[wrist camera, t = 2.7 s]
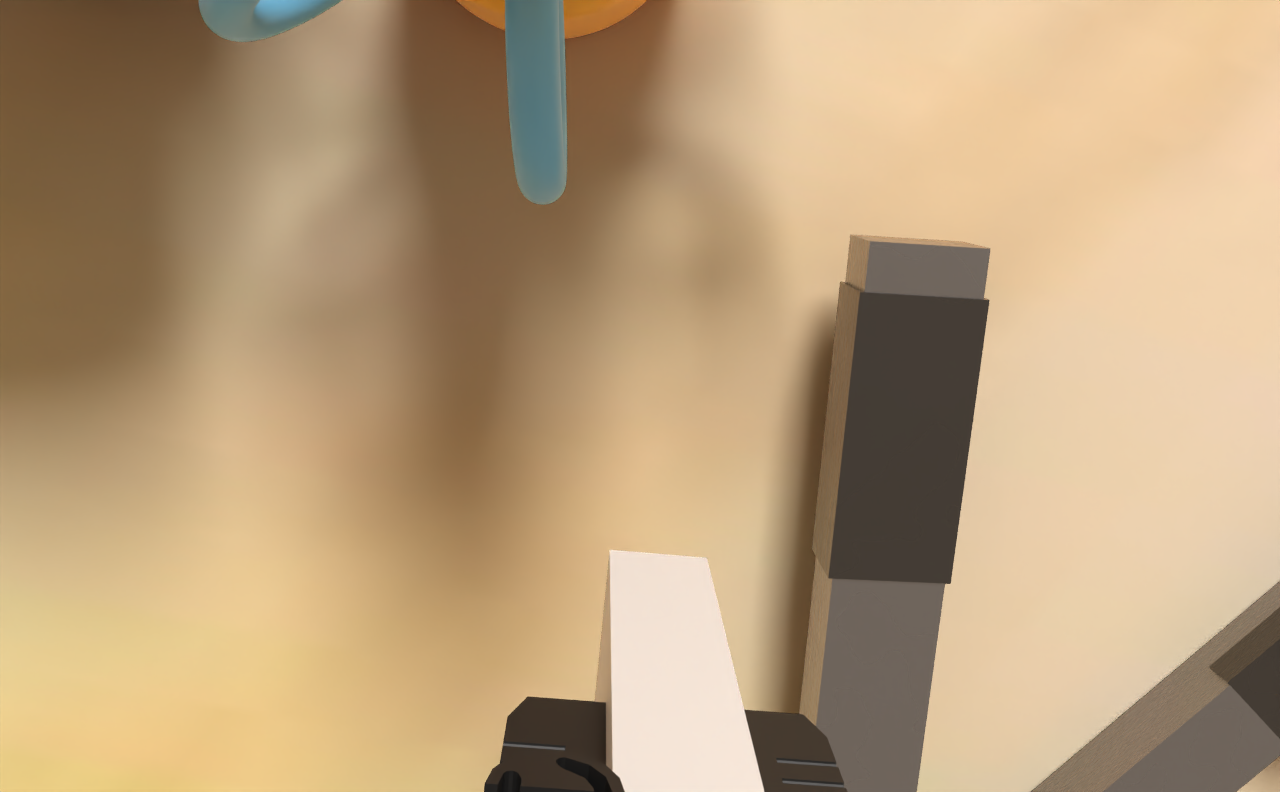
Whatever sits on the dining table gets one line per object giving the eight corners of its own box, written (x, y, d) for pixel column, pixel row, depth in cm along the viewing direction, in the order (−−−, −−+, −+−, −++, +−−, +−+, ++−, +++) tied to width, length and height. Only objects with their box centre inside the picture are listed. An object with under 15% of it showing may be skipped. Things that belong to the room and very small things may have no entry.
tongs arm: (862, 1040, 27) (879, 1097, 26) (759, 1038, 27) (771, 1095, 25) (966, 241, 23) (996, 249, 21) (845, 234, 23) (865, 241, 21)
